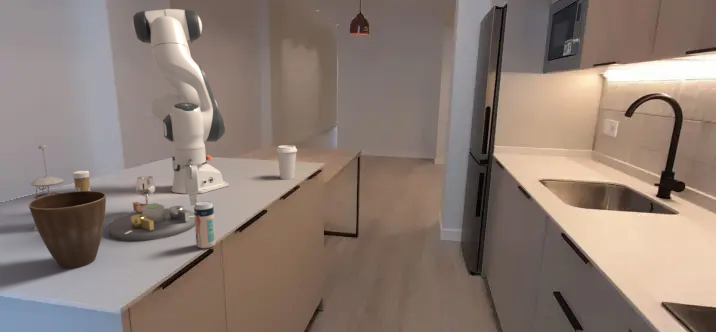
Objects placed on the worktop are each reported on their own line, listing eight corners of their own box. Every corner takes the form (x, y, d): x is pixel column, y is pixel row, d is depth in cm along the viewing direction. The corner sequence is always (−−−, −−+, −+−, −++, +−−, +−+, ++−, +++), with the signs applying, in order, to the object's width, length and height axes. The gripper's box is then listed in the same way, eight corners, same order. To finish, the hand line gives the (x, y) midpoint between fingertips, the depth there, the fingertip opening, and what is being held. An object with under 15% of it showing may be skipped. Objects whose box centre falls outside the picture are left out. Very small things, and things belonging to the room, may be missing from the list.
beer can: (199, 242, 113) (196, 200, 110) (217, 242, 113) (215, 200, 111) (194, 249, 108) (191, 205, 106) (212, 249, 108) (210, 205, 106)
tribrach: (173, 209, 142) (172, 190, 141) (211, 225, 127) (210, 204, 125) (95, 227, 124) (93, 205, 122) (129, 247, 109) (126, 223, 107)
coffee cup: (302, 177, 193) (301, 146, 190) (288, 181, 185) (287, 148, 182) (286, 175, 198) (286, 144, 195) (272, 178, 190) (271, 146, 187)
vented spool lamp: (41, 233, 118) (29, 148, 113) (24, 226, 124) (12, 144, 119) (79, 224, 126) (69, 144, 121) (61, 217, 132) (51, 140, 127)
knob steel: (167, 217, 127) (166, 207, 126) (180, 214, 130) (179, 204, 129) (181, 223, 121) (180, 212, 121) (193, 220, 124) (193, 209, 124)
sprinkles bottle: (93, 210, 140) (88, 172, 137) (77, 212, 137) (72, 173, 135) (93, 207, 143) (88, 169, 141) (77, 209, 141) (72, 171, 138)
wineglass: (138, 215, 135) (134, 180, 133) (138, 210, 140) (135, 176, 138) (157, 213, 138) (154, 178, 135) (157, 208, 143) (154, 175, 140)
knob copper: (153, 214, 129) (152, 204, 128) (140, 217, 126) (139, 207, 125) (142, 209, 134) (141, 199, 134) (129, 211, 131) (128, 202, 131)
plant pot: (91, 275, 93) (83, 207, 90) (22, 277, 92) (11, 208, 89) (123, 249, 107) (117, 190, 104) (64, 250, 106) (56, 191, 103)
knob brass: (128, 226, 118) (127, 216, 117) (142, 222, 121) (141, 212, 121) (145, 232, 113) (144, 221, 113) (158, 228, 117) (157, 217, 116)
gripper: (202, 163, 117) (205, 209, 120) (201, 150, 136) (203, 190, 139) (178, 164, 115) (182, 211, 118) (180, 151, 133) (183, 192, 136)
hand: (193, 200), depth 128 cm, fingers open, 8 cm apart
